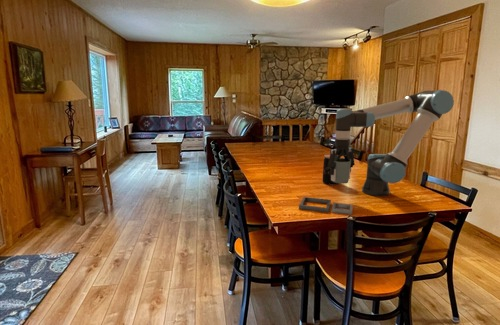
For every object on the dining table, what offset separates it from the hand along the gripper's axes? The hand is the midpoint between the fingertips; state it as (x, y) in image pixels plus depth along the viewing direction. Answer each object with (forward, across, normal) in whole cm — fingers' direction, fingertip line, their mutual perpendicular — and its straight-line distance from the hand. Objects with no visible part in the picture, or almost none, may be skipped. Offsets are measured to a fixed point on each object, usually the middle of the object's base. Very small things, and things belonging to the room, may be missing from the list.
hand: (340, 179), depth 170 cm
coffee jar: (+12, -18, -29) cm, 37 cm away
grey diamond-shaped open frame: (+11, +10, +14) cm, 20 cm away
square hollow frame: (+11, +19, +3) cm, 22 cm away
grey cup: (+1, 0, 0) cm, 1 cm away
